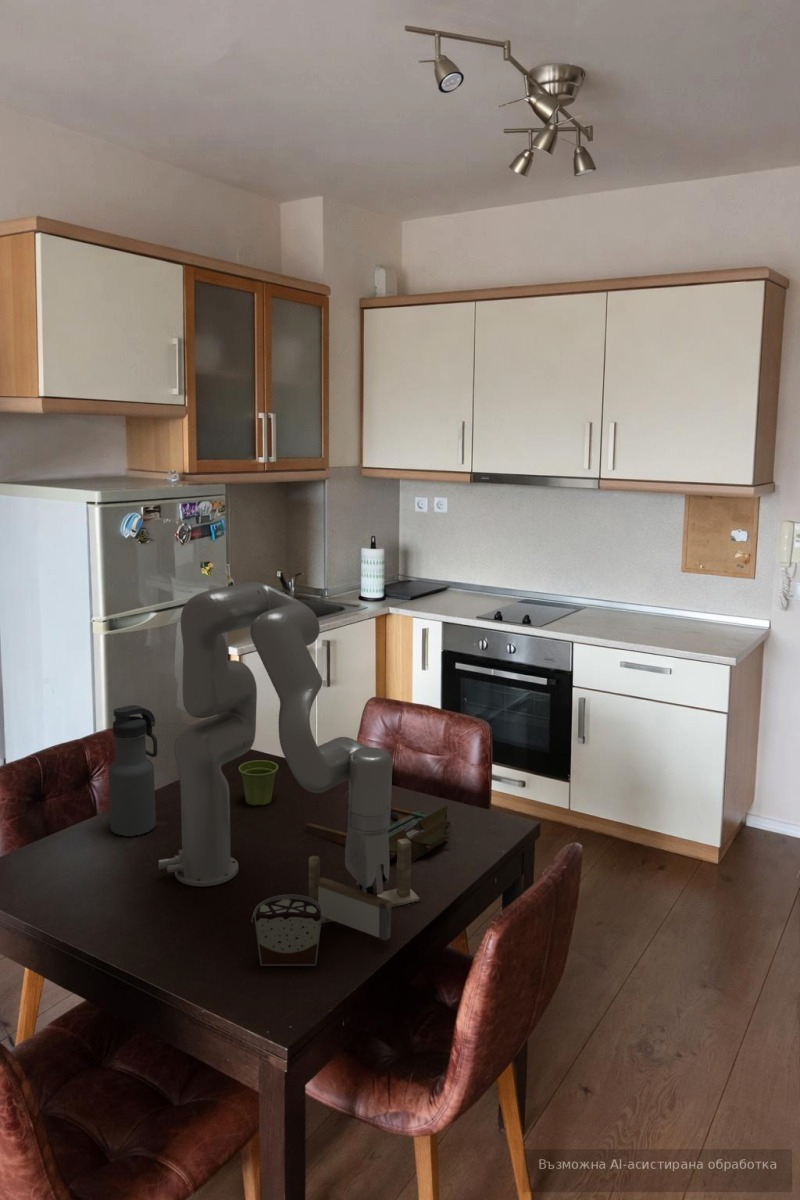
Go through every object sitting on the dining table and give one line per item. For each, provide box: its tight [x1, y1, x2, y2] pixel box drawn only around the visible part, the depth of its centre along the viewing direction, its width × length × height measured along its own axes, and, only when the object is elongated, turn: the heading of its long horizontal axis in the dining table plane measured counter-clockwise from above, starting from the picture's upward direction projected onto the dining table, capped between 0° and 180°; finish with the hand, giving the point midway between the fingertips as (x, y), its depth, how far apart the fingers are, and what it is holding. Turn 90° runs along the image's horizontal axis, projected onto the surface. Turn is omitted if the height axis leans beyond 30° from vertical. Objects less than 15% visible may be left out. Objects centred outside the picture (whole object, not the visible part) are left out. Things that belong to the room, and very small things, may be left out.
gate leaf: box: [317, 877, 392, 942], centre depth 165 cm, size 15×2×7 cm, turn 57°
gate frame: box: [308, 838, 421, 925], centre depth 173 cm, size 24×5×12 cm, turn 115°
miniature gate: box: [304, 804, 451, 863], centre depth 205 cm, size 27×6×30 cm
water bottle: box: [107, 704, 158, 837], centre depth 204 cm, size 10×10×28 cm
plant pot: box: [238, 759, 279, 806], centre depth 222 cm, size 9×9×9 cm
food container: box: [250, 893, 325, 967], centre depth 157 cm, size 12×6×10 cm, turn 92°
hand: (366, 911), depth 167 cm, fingers closed
